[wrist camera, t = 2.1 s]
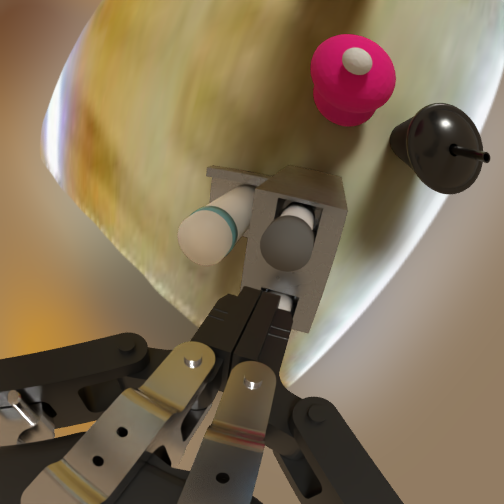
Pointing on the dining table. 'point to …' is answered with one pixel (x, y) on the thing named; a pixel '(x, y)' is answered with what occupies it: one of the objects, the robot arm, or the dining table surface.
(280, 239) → the plunger
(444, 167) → the drinking cup
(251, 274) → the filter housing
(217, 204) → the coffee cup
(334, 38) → the pepper mill
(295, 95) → the dining table surface
